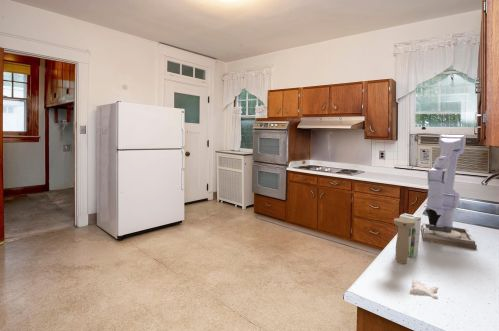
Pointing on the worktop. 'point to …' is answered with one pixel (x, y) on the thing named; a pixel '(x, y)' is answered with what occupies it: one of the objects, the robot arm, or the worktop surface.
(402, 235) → the handle
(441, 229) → the dial
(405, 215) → the syrup box
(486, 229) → the worktop surface
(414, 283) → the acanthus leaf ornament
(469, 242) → the dial housing
